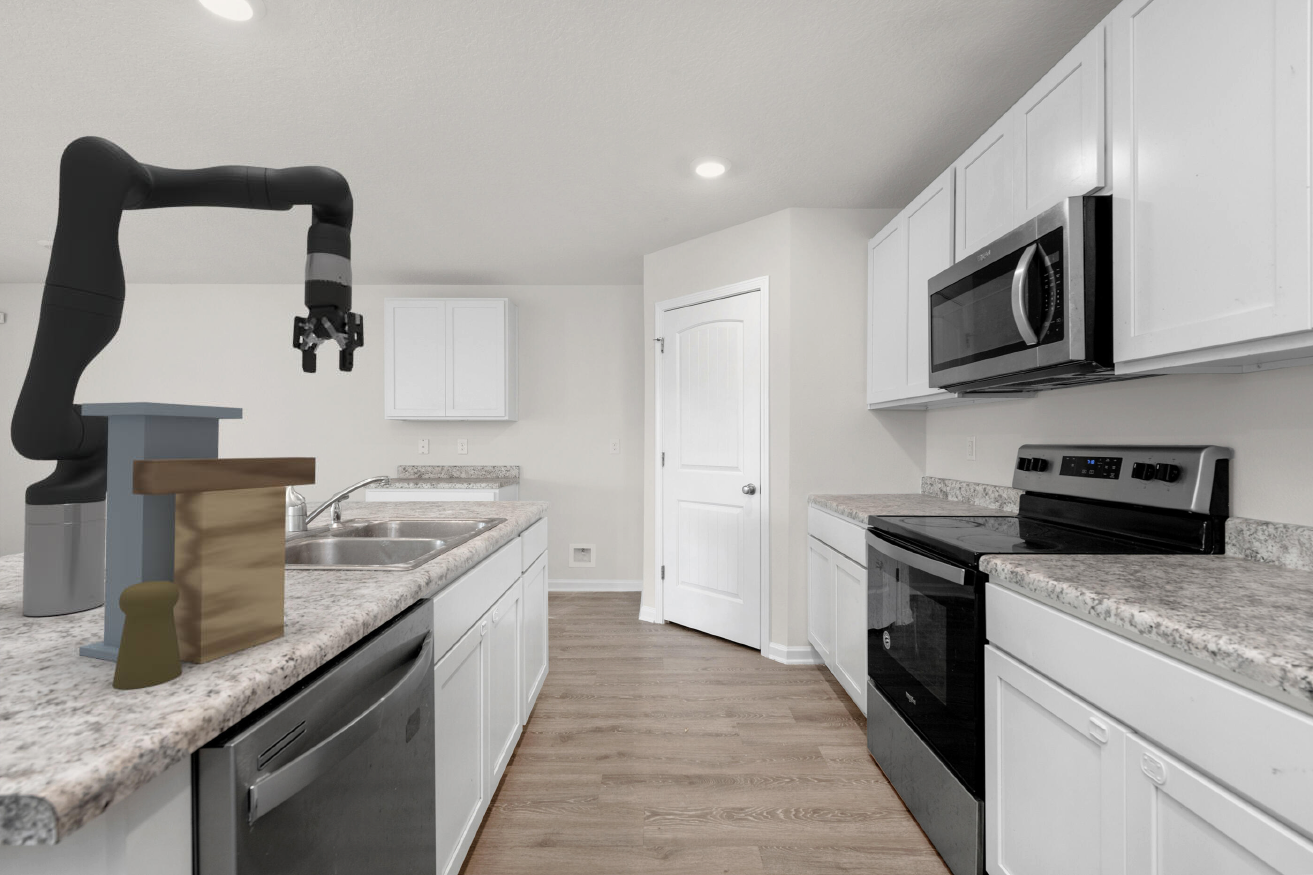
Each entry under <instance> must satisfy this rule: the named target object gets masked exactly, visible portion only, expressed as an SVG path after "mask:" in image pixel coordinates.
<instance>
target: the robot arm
mask: <svg viewBox="0 0 1313 875" xmlns="http://www.w3.org/2000/svg"><path fill="white" fill-rule="evenodd" d="M58 181H59V182H58V185H59V186H58V187H59V188H58V208H57V209H58V210H57V220H56V228H55V232H54V236H53V242H52V245H51V246H52V247H51V253H50V258H49V263H48V264H49V265H48V269H47V274H46V277H45V281H44V286H43V291H42V298H41V304H40V312H39V319H38V324H37V330H36V335H35V338H34V343H33V348H32V352H31V357H30V362H29V366H28V368H27V371H26V373H25V374H26V375H25V377H24V381H23V383H22V387H21V390H20V392H19V395H18V398H17V401H16V403H15V404H16V405H15V408H14V410H13V414H12V417H11V422H10V423H11V424H10V439H11V443H12V446H13V448H14V450H15V451H16V452H17V453H18V454H19V455H20V456H22V457H23V458H25V459H27V460H31V461H56V465H55V468H54V471H52V473H51V474H49V475H48V476H47V477H45V478H43V479H42V480H39V481H36V482H34V483H32V484H30V485H28V487H27V488H26V489H25V492H24V493H25V494H24V496H25V497H24V500H25V501H24V503H25V504H24V538H23V539H24V542H23V543H24V544H23V545H24V548H23V551H24V552H23V574H22V576H23V577H22V578H23V580H22V615H24V616H28V617H29V616H30V617H43V616H44V617H45V616H56V615H64V614H71V613H77V612H81V611H85V610H91V609H94V608H97V607H99V606H100V607H101V606H102V605H103V604H105V565H106V515H107V464H108V416H87V415H82V404H83V403H81V404H80V403H74V402H75V397H76V396H75V395H76V391H77V387H78V384H79V381H80V378H81V376H82V375H83V373H84V371H85V370H86V368H87V367H88V366H89V365H90V363H92V361H93V360H94V359H95V358H96V357H97V356H98V355H99V354H100V353H101V352H102V351H103V350H104V349H105V348H106V347H107V346H108V344H110V343H111V342H112V341H113V339H114V337H115V336H116V335H117V334H118V332H119V329H120V326H121V322H122V318H123V311H124V306H125V301H126V300H125V299H126V292H127V291H126V280H125V271H124V266H123V261H122V255H121V249H120V241H119V240H120V239H119V236H120V235H119V231H120V224H121V219H122V214H123V211H137V210H138V211H140V210H142V211H143V210H151V209H152V210H153V209H155V210H156V209H164V208H167V209H168V208H187V207H189V208H191V207H199V208H200V207H202V208H203V207H204V208H205V207H206V208H207V207H209V208H210V207H211V208H213V207H215V208H231V209H232V208H233V209H246V210H247V209H248V210H257V211H258V210H260V211H261V210H262V211H273V212H274V211H276V212H283V211H285V212H287V211H289V210H291V209H293V207H294V206H311V225H310V226H309V227H308V229H307V230H308V231H307V237H306V238H307V239H306V262H305V266H304V300H303V301H304V306H305V307H306V308H307V309H308V316H307V317H305V316H304V317H303V316H299V315H295V317H294V318H293V319H294V320H293V332H292V333H293V335H292V347H293V349H297V350H300V352H301V354H302V355H301V368H302V371H303V372H304V373H307V374H315V373H317V353H316V352H317V351H318V349H319V347H320V346H321V345H323V344H324V343H325V341H330V340H334V341H335V342H336V343H337V344H338V346H339V348H340V349H339V350H338V354H339V355H338V369H339V371H340V372H345V373H351V372H352V371H353V368H354V356H355V355H354V352H355V351H356V349H357V348H363V347H364V345H365V337H364V334H365V332H364V316H363V315H362V314H361V313H358V312H353V311H352V307H353V306H352V305H353V304H352V303H353V300H352V299H353V293H352V292H353V271H352V262H351V261H352V260H351V259H352V257H351V256H352V252H351V251H352V240H351V234H352V227H353V226H352V225H353V220H354V199H353V194H352V191H351V188H350V185H349V182H348V181H347V179H346V178H345V176H344V175H343V174H342V173H340V172H339V171H337V170H336V169H333V168H330V167H327V166H326V167H325V166H321V165H305V166H304V165H302V166H290V167H285V168H273V167H265V166H264V167H263V166H251V165H240V164H239V165H232V164H230V165H218V166H216V165H215V166H211V167H210V166H209V167H202V168H192V169H191V168H190V169H189V168H187V169H185V168H184V169H183V168H182V169H180V168H178V169H177V168H170V167H163V166H157V165H152V164H148V163H145V162H144V163H143V162H140V161H138V160H137V159H135V158H134V157H133V156H132V155H131V154H129V153H128V152H127V151H126V150H124V149H123V148H122V147H121V146H119V145H118V144H116V143H115V142H112V141H111V140H109V139H107V138H104V137H100V136H95V135H86V136H81V137H77V138H76V139H74V140H72V141H71V142H70V143H69V144H67V146H66V148H65V149H63V153H62V154H61V158H60V164H59V180H58ZM301 339H302V340H301Z"/></svg>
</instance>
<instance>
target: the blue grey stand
mask: <svg viewBox="0 0 1313 875" xmlns="http://www.w3.org/2000/svg"><path fill="white" fill-rule="evenodd" d="M81 404H82V415H87V416H108V464H107V493H106V535H105V582H104V618H103V619H104V620H103V621H104V622H103V623H104V624H103V626H104V627H103V628H104V629H103V640H101V641H97V642H94V643H90V644H87V645H82V646H79V648H78V650H79V651H78V655H79V656H84V657H89V658H94V659H98V658H99V660H103V659H104V661H108V660H109V662H114V663H117V658H118V653H119V648H120V642H121V637H122V632H123V626H124V621H125V616H126V614H125V613H123V612H122V611H121V609H120V606H119V598H120V595H121V593H122V592H123V591H124V589H125V588H127V587H129V586H131V585H135V584H138V583H142V582H148V581H170V582H173V583H174V561H175V506H176V494H167V495H139V494H132V488H133V460H168V459H219V439H220V438H219V435H220V434H219V430H220V429H219V428H220V420H243V415H244V414H243V409H244V408H243V407H229V406H228V407H227V406H216V405H215V406H213V405H212V406H211V405H199V404H197V405H196V404H180V403H179V404H178V403H164V402H150V401H147V402H146V401H138V402H134V401H133V402H130V401H129V402H127V401H126V402H96V403H95V402H91V403H89V402H88V403H81ZM173 614H174V607H173Z"/></svg>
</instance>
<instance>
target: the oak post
mask: <svg viewBox="0 0 1313 875" xmlns="http://www.w3.org/2000/svg"><path fill="white" fill-rule="evenodd" d="M286 510H287V486H282V487H267V488H253V489H239V490H225V491H210V492H196V493H182V494H176V506H175V561H174V583H175V585H176V586H177V587H178V590H179V598H178V601H177V603H176V605H175V606H174V621H175V627H176V634H177V640H178V647H179V653H180V660H181V662H182V661H183V662H188V663H194V664H199V665H203V664H204V663H205V664H206V663H209V662H210V661H213V660H216V659H220V658H222V657H225V656H229V655H233V654H234V653H237V652H240V651H244V650H247V649H249V648H252V647H256V646H258V645H262V644H264V643H267V642H270V641H273V640H277V639H279V638H282V637H284V636H285V635H284V634H285V588H286V587H285V586H286V585H285V584H286V583H285V582H286V581H285V578H286V574H285V573H286V572H285V571H286V570H285V569H286V524H287V523H286V518H287V517H286V516H287V511H286Z"/></svg>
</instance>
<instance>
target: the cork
mask: <svg viewBox="0 0 1313 875" xmlns="http://www.w3.org/2000/svg"><path fill="white" fill-rule="evenodd" d="M178 598H179V590H178V587H177V586H176V585H175V583H173V582H170V581H148V582H142V583H138V584H135V585H131V586H129V587H127V588H125V589H124V591H123V592H122V593H121V595H120V598H119V606H120V609H121V611H122V612H123V613H125V614H126V616H125V621H124V626H123V632H122V637H121V642H120V648H119V653H118V658H117V662H115V663H116V665H115V669H114V674H113V679H112V680H113V681H112V688H113V689H116V690H123V691H125V690H137V689H143V688H144V689H145V688H149V687H154V686H159V685H162V684H165V683H167V682H170V681H173V680H176V679H177V678H178V677H180V676H182V674H183V667H182V660H180V653H179V647H178V640H177V634H176V627H175V621H174V614H173V607H174V606H175V605H176V603H177V601H178Z"/></svg>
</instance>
